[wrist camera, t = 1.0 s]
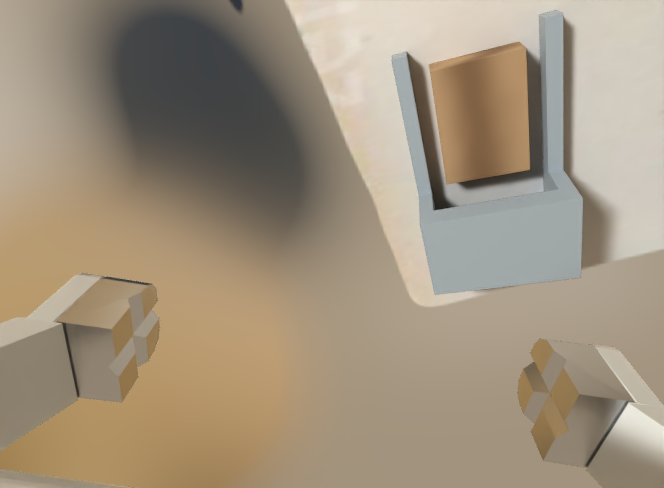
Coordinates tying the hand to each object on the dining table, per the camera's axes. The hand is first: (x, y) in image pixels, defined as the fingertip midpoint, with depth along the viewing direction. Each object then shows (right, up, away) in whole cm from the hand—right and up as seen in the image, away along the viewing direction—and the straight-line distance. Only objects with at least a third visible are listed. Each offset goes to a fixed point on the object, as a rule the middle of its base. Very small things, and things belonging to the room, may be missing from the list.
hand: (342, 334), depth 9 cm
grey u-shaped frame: (+14, +10, +30) cm, 34 cm away
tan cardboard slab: (+13, +14, +28) cm, 34 cm away
